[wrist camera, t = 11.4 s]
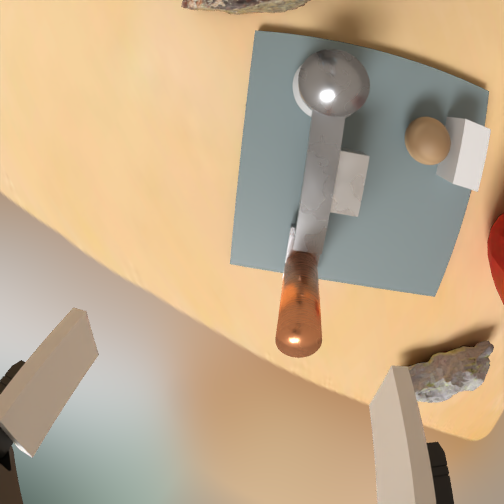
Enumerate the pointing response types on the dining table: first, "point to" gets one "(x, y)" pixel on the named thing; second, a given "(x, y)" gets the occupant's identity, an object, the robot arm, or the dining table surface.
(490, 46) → the dining table surface
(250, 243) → the board
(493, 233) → the apple
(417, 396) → the mineral specimen
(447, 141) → the light brown ball
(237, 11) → the rock
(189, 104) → the dining table surface
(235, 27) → the dining table surface
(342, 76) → the lever
